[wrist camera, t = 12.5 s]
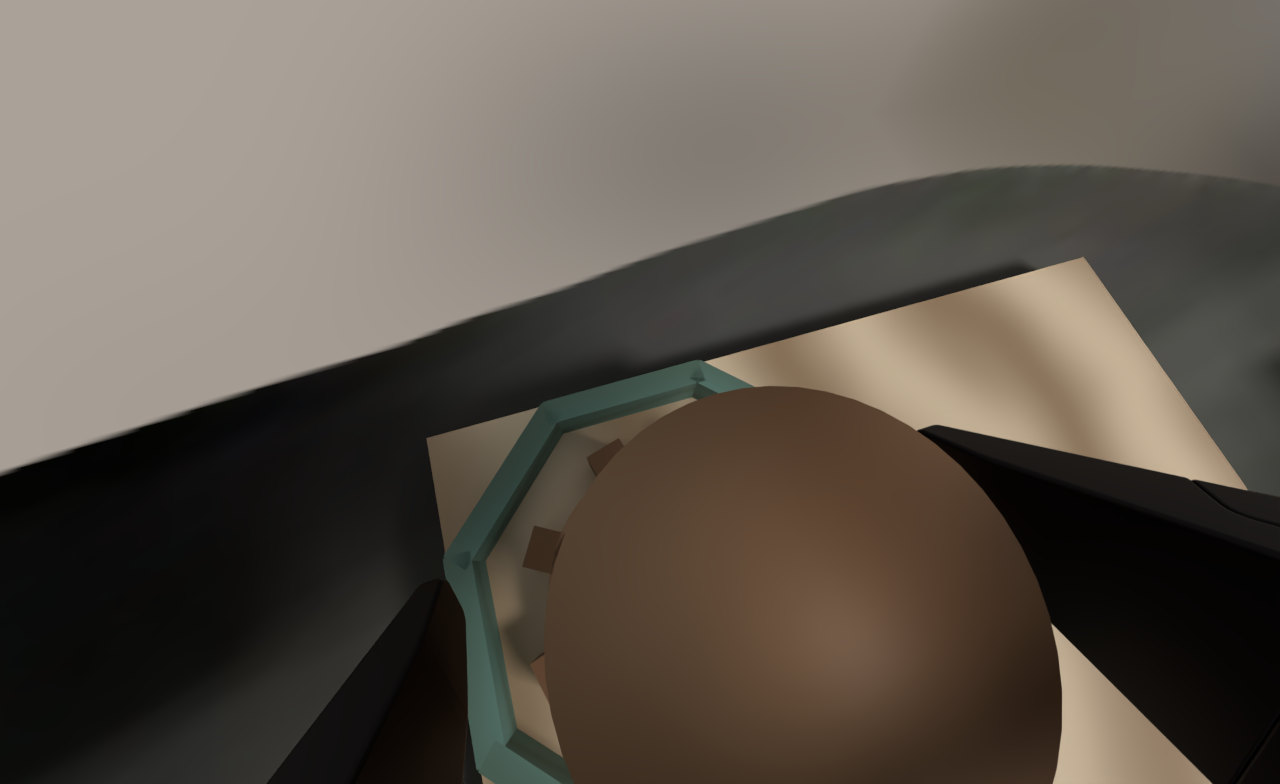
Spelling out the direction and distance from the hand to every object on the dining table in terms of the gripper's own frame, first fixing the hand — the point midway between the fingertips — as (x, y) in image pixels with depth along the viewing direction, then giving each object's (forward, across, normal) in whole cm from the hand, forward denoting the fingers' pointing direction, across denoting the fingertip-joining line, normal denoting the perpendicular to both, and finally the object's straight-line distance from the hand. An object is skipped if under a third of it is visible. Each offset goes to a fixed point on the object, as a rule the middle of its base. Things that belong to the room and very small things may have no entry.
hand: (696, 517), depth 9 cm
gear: (+4, 0, +6) cm, 8 cm away
